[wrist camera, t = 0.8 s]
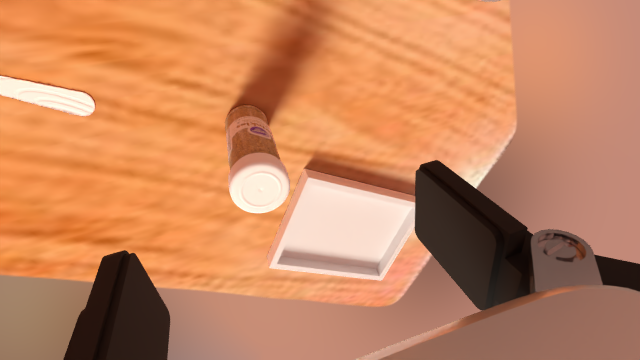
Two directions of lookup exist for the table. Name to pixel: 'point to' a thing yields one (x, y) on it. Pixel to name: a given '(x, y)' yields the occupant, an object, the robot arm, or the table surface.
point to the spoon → (48, 96)
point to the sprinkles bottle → (254, 162)
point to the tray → (342, 228)
